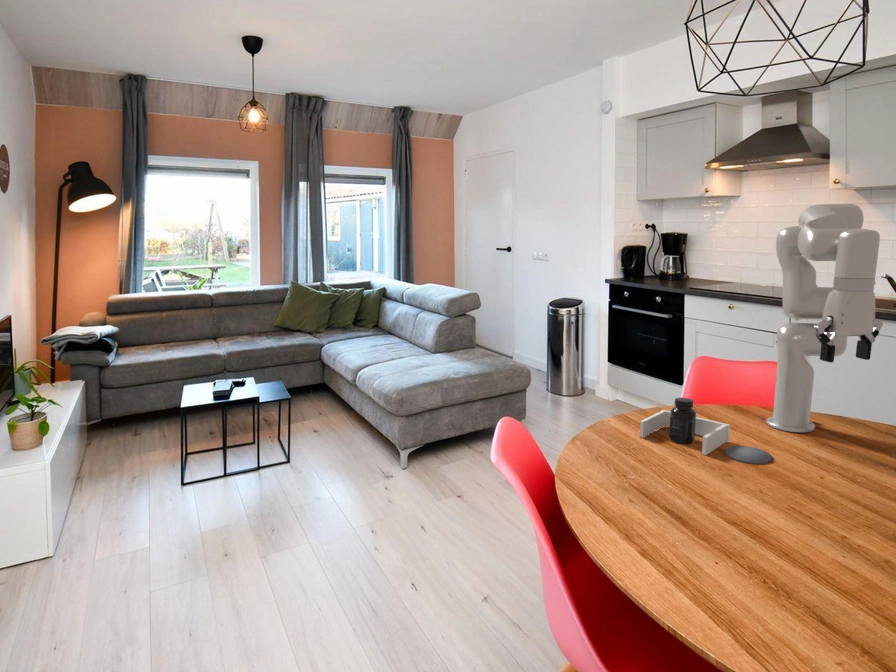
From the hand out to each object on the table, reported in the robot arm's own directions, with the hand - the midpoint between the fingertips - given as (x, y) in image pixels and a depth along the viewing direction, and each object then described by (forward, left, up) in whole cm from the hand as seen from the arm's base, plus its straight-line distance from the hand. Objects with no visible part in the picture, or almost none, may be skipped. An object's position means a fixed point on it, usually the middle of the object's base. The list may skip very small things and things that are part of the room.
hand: (844, 359), depth 130 cm
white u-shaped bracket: (0, -37, -29) cm, 47 cm away
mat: (-1, -19, -29) cm, 35 cm away
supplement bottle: (0, -37, -30) cm, 47 cm away
